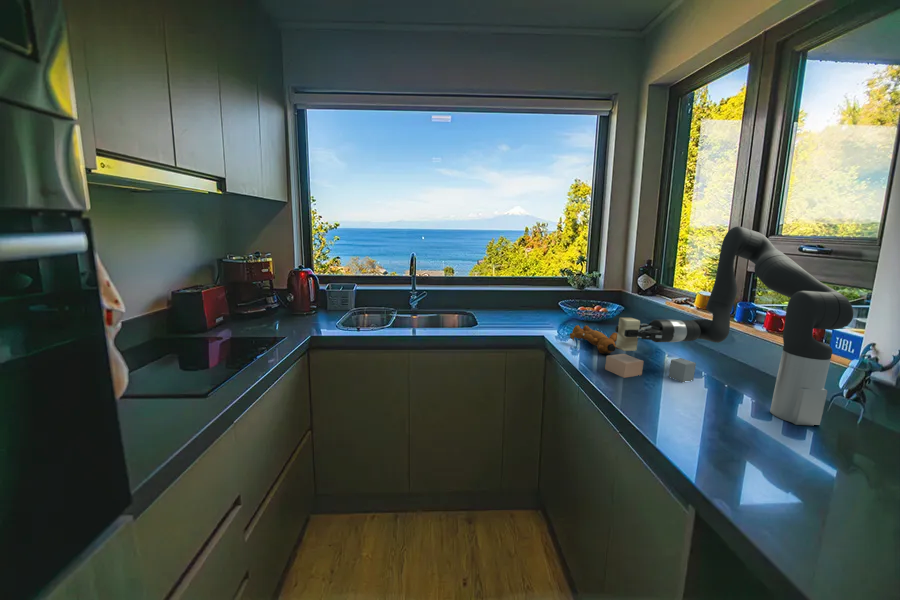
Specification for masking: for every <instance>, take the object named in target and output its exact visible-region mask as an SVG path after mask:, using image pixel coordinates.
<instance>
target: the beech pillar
mask: <svg viewBox="0 0 900 600" xmlns="http://www.w3.org/2000/svg"><path fill="white" fill-rule="evenodd" d="M640 324H641V320H640V319H637V318H633V317H619V319H618V325H617V326H618V333H617V332H616V333H617V341H616V342H615V345H616V347H617V348H619V349H618V350H621V351H623V352H632V351H633V352H634V351H635V352H636V351H637V349H638V341H639V338H637V337H626V336H624V333H625V330H638V329H639V327H640Z"/></svg>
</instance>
